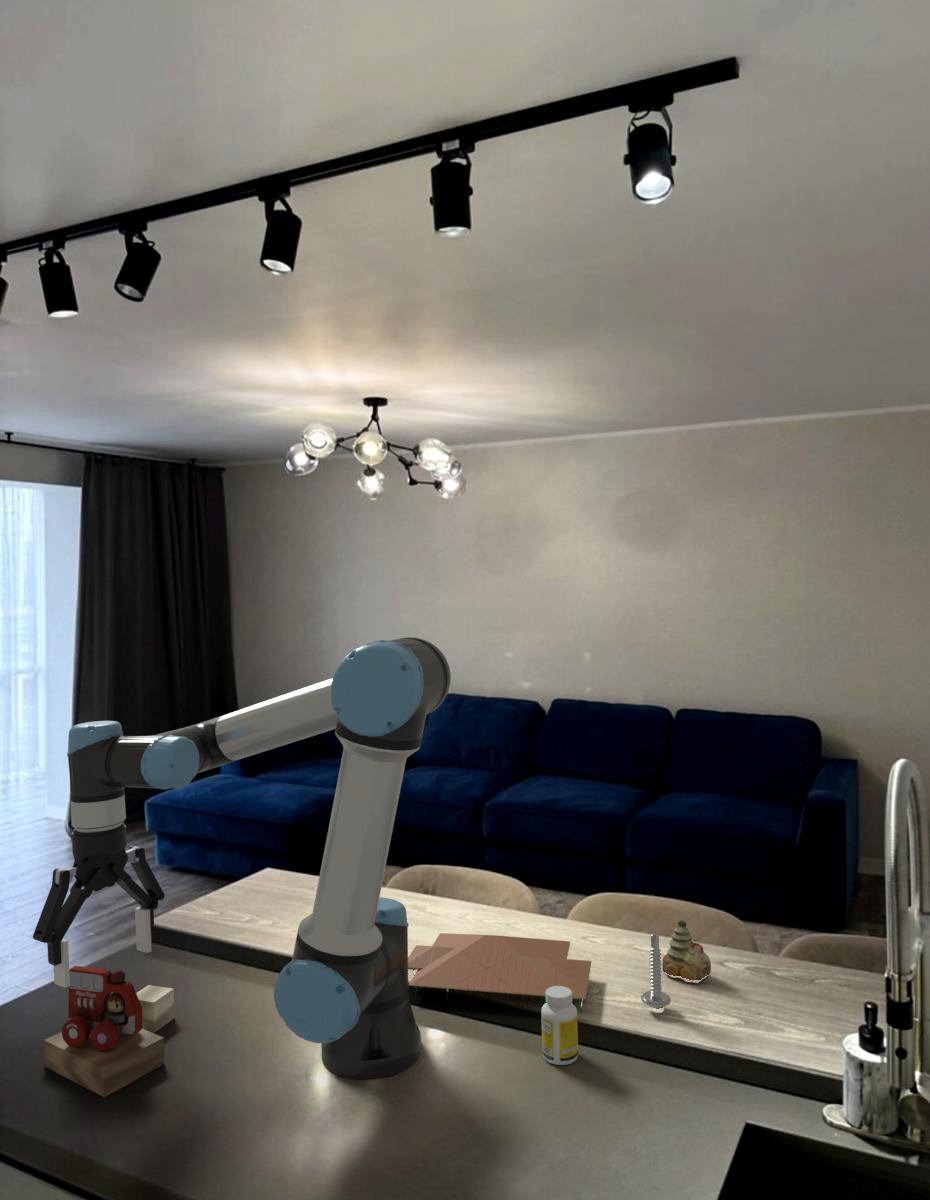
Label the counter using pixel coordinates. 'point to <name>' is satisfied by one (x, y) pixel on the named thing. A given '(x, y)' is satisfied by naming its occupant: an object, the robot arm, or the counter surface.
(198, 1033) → the counter surface
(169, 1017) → the birch block
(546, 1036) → the supplement bottle
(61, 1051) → the plinth
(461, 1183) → the counter surface
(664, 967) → the ornament
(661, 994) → the screw
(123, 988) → the toy fire truck
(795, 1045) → the counter surface
